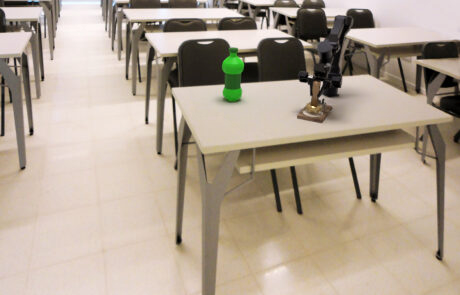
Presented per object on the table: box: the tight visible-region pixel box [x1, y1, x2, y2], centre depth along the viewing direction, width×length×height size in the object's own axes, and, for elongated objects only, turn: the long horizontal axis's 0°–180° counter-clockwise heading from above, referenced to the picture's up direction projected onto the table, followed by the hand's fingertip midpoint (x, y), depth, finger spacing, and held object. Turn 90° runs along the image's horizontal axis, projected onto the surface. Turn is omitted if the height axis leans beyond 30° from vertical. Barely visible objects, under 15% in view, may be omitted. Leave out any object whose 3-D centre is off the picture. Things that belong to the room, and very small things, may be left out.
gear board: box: [296, 98, 333, 124], centre depth 168 cm, size 20×11×6 cm, turn 153°
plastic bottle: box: [221, 46, 245, 102], centre depth 178 cm, size 10×10×25 cm
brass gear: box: [305, 80, 322, 113], centre depth 162 cm, size 7×7×13 cm
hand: (314, 96), depth 161 cm, fingers closed on brass gear, 3 cm apart
